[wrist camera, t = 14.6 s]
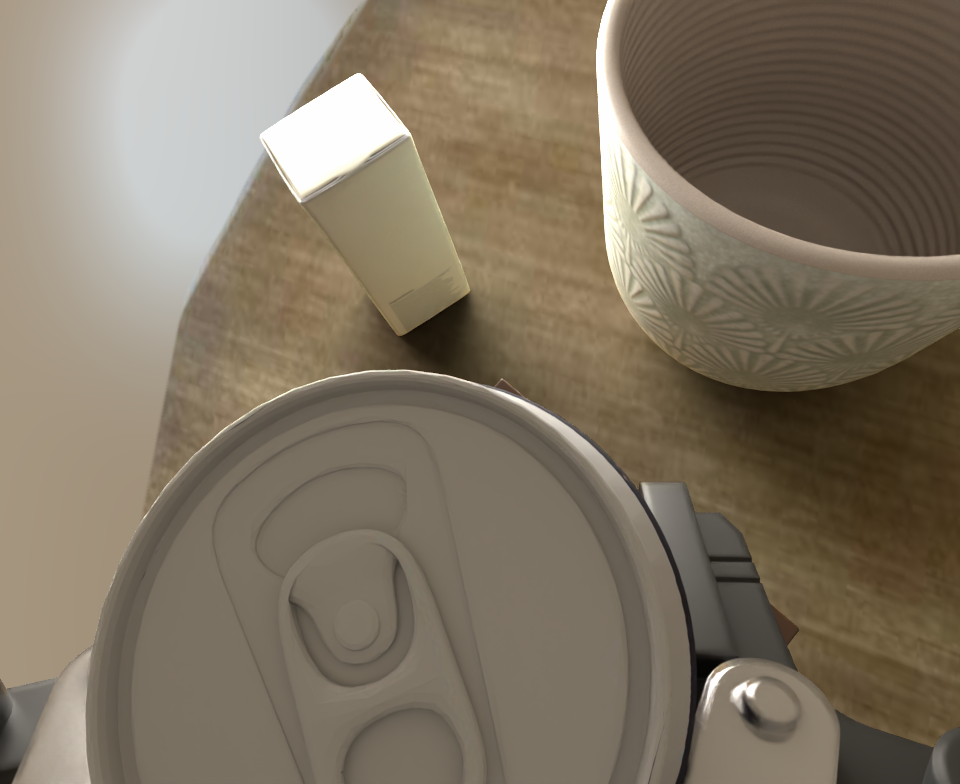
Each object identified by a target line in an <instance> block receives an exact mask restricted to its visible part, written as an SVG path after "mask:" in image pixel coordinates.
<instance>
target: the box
mask: <svg viewBox="0 0 960 784" xmlns="http://www.w3.org/2000/svg"><path fill="white" fill-rule="evenodd" d="M260 140H261V142H262V143H263V145H264V147H265V149H266V150H267V152H268V154H269V156H270V158H271V159H272V161H273V163H274V165H275V166H276V168H277V170H278V171H279V173H280V175H281V176H282V178H283V180H284V181H285V183H286V185H287V186H288V188H289V189H290V191H291V192H292V194H293V195H294V197H295V198H296V200H297V201H298V203H299V204H300V205H301V207H302V208H303V209H304V210H305V211H306V213H307V214H308V215H309V216H310V218H311V219H312V220H313V222H314V223H315V224H316V225H317V227H318V228H319V229H320V231H321V232H322V234H323V235H324V236H325V238H326V239H327V240H328V242H329V243H330V244H331V246H332V247H333V248H334V250H335V251H336V253H337V254H338V255H339V257H340V258H341V259H342V261H343V262H344V263H345V265H346V266H347V267H348V269H349V270H350V271H351V273H352V274H353V275H354V277H355V278H356V280H357V281H358V282H359V284H360V285H361V286H362V288H363V289H364V290H365V292H366V293H367V295H368V296H369V298H370V299H371V300H372V302H373V303H374V304H375V306H376V307H377V309H378V310H379V311H380V313H381V314H382V315H383V317H384V318H385V319H386V321H387V322H388V323H389V325H390V326H391V327H392V329H393V330H394V331H395V333H396V334H397V335H398V336H402V335H404V334H406V333H408V332H409V331H411V330H413V329H414V328H416V327H418V326H419V325H421V324H422V323H424V322H425V321H427V320H429V319H430V318H432V317H433V316H435V315H436V314H438V313H439V312H441V311H443V310H444V309H446V308H447V307H449V306H450V305H452V304H453V303H455V302H456V301H458V300H459V299H461V298H462V297H464V296H465V295H467V294H468V293H469V292H470V288H469V285H468V282H467V279H466V277H465V274H464V271H463V268H462V266H461V263H460V260H459V258H458V255H457V253H456V250H455V248H454V245H453V243H452V240H451V238H450V235H449V232H448V230H447V227H446V225H445V222H444V219H443V217H442V214H441V212H440V209H439V207H438V204H437V202H436V199H435V197H434V194H433V191H432V189H431V186H430V184H429V181H428V179H427V176H426V173H425V171H424V168H423V166H422V163H421V160H420V158H419V155H418V152H417V150H416V147H415V145H414V142H413V139H412V136H411V134H410V133H409V131H408V130H407V128H406V127H405V126H404V125H403V123H402V122H401V121H400V119H399V118H398V117H397V116H396V114H395V113H394V112H393V111H392V109H391V108H390V107H389V106H388V104H387V103H386V102H385V101H384V99H383V98H382V97H381V96H380V95H379V93H378V92H377V91H376V90H375V89H374V88H373V86H372V85H371V84H370V83H369V82H368V81H367V80H366V78H365V77H364V76H363V75H361V74H356V75H354V76H352V77H350V78H349V79H347V80H346V81H344V82H342V83H341V84H339V85H337V86H335V87H334V88H332V89H331V90H329V91H328V92H326V93H324V94H323V95H321V96H319V97H318V98H316V99H315V100H313V101H311V102H310V103H308V104H306V105H305V106H303V107H302V108H300V109H298V110H297V111H295V112H294V113H292V114H291V115H289V116H287V117H286V118H284V119H283V120H281V121H280V122H278V123H277V124H275V125H274V126H272V127H271V128H269V129H268V130H266V131H265V132H263V133H262V134H261V135H260Z"/></svg>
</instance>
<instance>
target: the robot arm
mask: <svg viewBox="0 0 960 784" xmlns="http://www.w3.org/2000/svg"><path fill="white" fill-rule="evenodd" d="M639 493H640V494H641V496H642V497H643V499H644V500H645V502H646V503H647V505H648V506H649V508H650V510H651V512H652V513H653V515H654V517H655V519H656V520H657V522H658V524H659V526H660V528H661V530H662V532H663V534H664V536H665V538H666V540H667V542H668V544H669V547H670V549H671V551H672V554H673V557H674V559H675V562H676V564H677V567H678V570H679V573H680V576H681V579H682V583H683V586H684V589H685V593H686V597H687V601H688V606H689V610H690V615H691V620H692V626H693V633H694V640H695V650H696V665H697V699H696V711H695V723H694V730H693V736H692V742H691V749H690V753H689V757H688V761H687V766H686V770H685V774H684V778H683V780H682V782H681V784H960V727H957V728H954V729H952V730H949V731H947V732H946V733H944V734H943V735H942V736H941V737H940V738H939V739H938V741H937V742H936V744H935V746H934V748H933V747H930V746H927V745H924V744H920V743H917V742H914V741H911V740H908V739H905V738H902V737H899V736H896V735H893V734H890V733H887V732H884V731H880V730H877V729H874V728H872V727H869V726H866V725H864V724H861V723H859V722H857V721H855V720H853V719H851V718H849V717H847V716H845V715H844V714H842V713H840V712H839V711H837V710H835V709H834V708H833V706H832V704H831V703H830V701H829V700H828V698H827V697H826V696H825V695H824V693H823V692H822V691H821V690H820V689H819V688H818V687H817V686H816V685H815V684H814V683H812V682H811V681H810V680H809V679H807V678H806V677H805V676H803V675H802V674H800V673H799V672H798V670H797V668H796V666H795V664H794V662H793V659H792V657H791V654H790V652H789V649H788V647H787V644H786V642H785V640H784V637H783V635H782V632H781V630H780V627H779V625H778V622H777V620H776V617H775V615H774V612H773V610H772V607H771V605H770V602H769V600H768V597H767V595H766V592H765V590H764V587H763V585H762V583H760V577H759V575H758V572H757V570H756V567H755V565H754V563H752V557H751V555H750V553H749V550H748V548H747V545H746V543H745V540H744V538H743V535H742V533H741V532H740V531H739V530H738V529H737V528H736V527H735V526H733V525H732V524H731V523H730V522H729V521H728V520H727V519H726V518H725V517H724V516H723V515H722V514H721V513H695V511H694V508H693V505H692V501H691V498H690V495H689V492H688V488H687V485H686V483H685V482H640V484H639ZM92 648H93V645H92V646H91V647H89V648H88V649H86V650H85V651H83V652H82V653H81V654H79V655H78V656H77V657H76V658H75V659H74V660H73V661H71V662H70V663H69V664H68V666H67V667H66V668H65V669H64V670H63V671H62V673H61V674H60V675H59V677H57V678H53V679H49V680H44V681H40V682H35V683H31V684H26V685H22V686H18V687H13V688H8V689H6V688H5V686H4V684H3V683H2V681H1V679H0V784H91V781H90V775H89V768H88V762H87V756H86V710H85V703H86V694H87V685H88V676H89V667H90V658H91V652H92Z"/></svg>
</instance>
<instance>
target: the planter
mask: <svg viewBox="0 0 960 784" xmlns="http://www.w3.org/2000/svg"><path fill="white" fill-rule="evenodd" d="M596 64H597V84H598V104H599V124H600V144H601V164H602V184H603V204H604V224H605V240H606V248H607V254H608V259H609V264H610V267H611V271H612V274H613V277H614V280H615V283H616V286H617V288H618V291H619V293H620V295H621V297H622V299H623V301H624V303H625V305H626V307H627V308H628V310H629V312H630V313H631V315H632V317H633V318H634V320H635V321H636V322H637V323H638V325H639V326H640V327H641V329H642V330H643V331H644V332H645V333H646V334H647V335H648V336H649V337H650V339H651V340H652V341H653V342H654V343H655V344H656V345H658V346H659V347H660V348H661V349H662V350H663V351H664V352H666V353H667V354H668V355H669V356H671V357H672V358H674V359H675V360H677V361H678V362H679V363H681V364H683V365H685V366H686V367H688V368H690V369H692V370H693V371H695V372H697V373H700V374H702V375H704V376H706V377H709V378H711V379H714V380H717V381H720V382H723V383H726V384H729V385H734V386H738V387H742V388H748V389H754V390H762V391H778V392H791V391H806V390H814V389H821V388H828V387H832V386H837V385H841V384H845V383H849V382H852V381H855V380H858V379H861V378H864V377H867V376H870V375H873V374H876V373H878V372H880V371H882V370H884V369H887V368H889V367H891V366H893V365H895V364H897V363H899V362H901V361H903V360H905V359H907V358H909V357H910V356H912V355H914V354H915V353H917V352H919V351H921V350H922V349H924V348H926V347H927V346H929V345H931V344H933V343H934V342H936V341H938V340H939V339H941V338H943V337H945V336H946V335H948V334H950V333H952V332H953V331H955V330H957V329H958V328H960V0H608V3H607V6H606V9H605V12H604V14H603V18H602V22H601V27H600V32H599V36H598V44H597V58H596Z"/></svg>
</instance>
